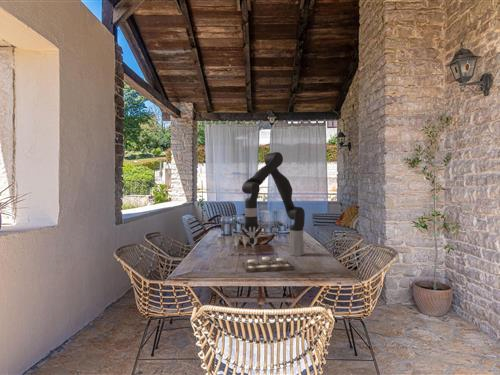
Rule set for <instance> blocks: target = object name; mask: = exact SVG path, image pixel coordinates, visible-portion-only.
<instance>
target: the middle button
mask: <svg viewBox="0 0 500 375" xmlns="http://www.w3.org/2000/svg"><path fill="white" fill-rule="evenodd" d="M261 259H262V261H270V259H271V257H270V256H262V257H261Z"/></svg>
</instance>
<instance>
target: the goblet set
mask: <svg viewBox="0 0 500 375" xmlns="http://www.w3.org/2000/svg"><path fill="white" fill-rule="evenodd" d="M241 239H242V244H243V246H244V248H246V246H247V243H248V237H247V236H246V235H245V234H244V235H242V238H241ZM232 242H233V243H234V245H235V247H236V248H235V249H236V250H238V246H239V243H240V236H239V235H237V234H236V235H234V236H232V235H225V236H224V237H222V236H219V237H216V243H217V245H218V247H219V251H220V252H219V253H218V254H217V256H224V254H223V253H222V252H221V251H222V246H223V244H224V243H225V244H226V246H227V249H228V253H225V256H231V255H234V256H239V254H240V253H234V254H233V253H230V246H231V244H232ZM257 243H258V238H257V237H255V238H254V243H253V244H250V245H251V247H252V249H254V247H255V246H256V244H257ZM243 254H244V255H243V256H247V255H246V254H247V253H243ZM250 254H256V253H255V252H251V253H250Z"/></svg>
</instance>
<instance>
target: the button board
mask: <svg viewBox="0 0 500 375" xmlns="http://www.w3.org/2000/svg"><path fill="white" fill-rule="evenodd" d="M277 258H278V257H277ZM277 258H276V257H274V258H273V259H271V258H270V261H262V258H259V261H258V260H257V259H255V258H254V260H256V262H247V260H248V259H244V261H242V262H241V266H242V268H243V269H244V271H245V273H257V272H258V273H259V272H273V271H291V270H294V266H293V264H291V263H290V262H289V261H288V259H286V257H283V258H284V259H285V260H281V261H277V260H276V259H277Z"/></svg>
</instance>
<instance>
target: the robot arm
mask: <svg viewBox="0 0 500 375" xmlns="http://www.w3.org/2000/svg"><path fill="white" fill-rule="evenodd" d="M263 159H264V164H265V165H264V166H262V167H261V168H260V169H258V170H257V171H256V172H255V173H254V175H252V177H249V178H248V179H247V180H246V181H245V182H243V184H242V186H241V190H242V192H243V194H246V195H250V197H247V198H245V201H244V203H245V204H244V208H245V210H244V225H243V226H244V227H242V228H241V229H240V230H241V232H242V233H243V234H244V235H246V236H247V238H248V243H249V245H251V244H253V243H254V238H255V237H256V238H257V237H258V235H259V234H260V233H261V232H262V230H263V228H262V227H259V223H258V222H259V221H258V218H259V217H258V216H259V213H258V198H259V193H260V186H261V185H262V184H263V183H264V182H265V180H266V179H267V178H268V176H270V175H271V177H272V180H273V181H274V184H275V186H276V188H277V191H278V193H279V195H280V197H281V200H282V204H283V205H284V209H285V212H286V214H287V216H288V218H289V219H290V220H292V221H294V222H293V224H291V225H289V255H290V256H293V257H294V256H295V257H300V256H305V240H304V227H305V219H306V218H305V217H306V216H305V214H306V213H305V210H304V208H303V207H300V206H296V205H295V204H294V202H293V199H292V198H293V197H292V196H293V187H292V185H291V183H290V180H289V179H288V177H286V176H285V175H284V174H283V173H281V172H280V170H279V169H278V168H279V167H280V166H281V165H282V164H283V162H284V156H283V154H282V153H281V152H279V151H275V152H268V153H266V154H264V157H263ZM246 231H247V232H248V233H247V232H246Z"/></svg>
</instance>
